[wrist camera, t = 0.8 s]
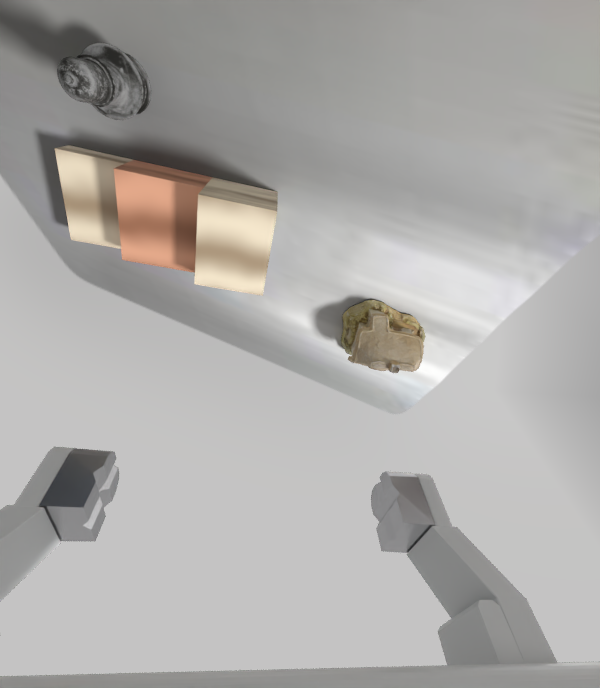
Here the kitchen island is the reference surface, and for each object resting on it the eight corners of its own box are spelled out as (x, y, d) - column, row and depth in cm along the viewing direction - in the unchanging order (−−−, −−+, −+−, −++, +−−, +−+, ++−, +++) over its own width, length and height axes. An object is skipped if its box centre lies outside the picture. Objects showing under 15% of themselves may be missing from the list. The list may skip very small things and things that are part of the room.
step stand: (68, 145, 38) (19, 156, 31) (277, 191, 42) (277, 211, 35) (82, 231, 44) (43, 258, 36) (265, 265, 48) (262, 295, 40)
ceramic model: (330, 351, 58) (338, 392, 50) (349, 294, 51) (362, 331, 43) (405, 362, 60) (425, 403, 52) (432, 309, 54) (460, 346, 45)
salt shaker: (108, 120, 37) (47, 128, 27) (84, 49, 33) (4, 29, 24) (161, 116, 37) (119, 122, 27) (143, 45, 33) (87, 22, 24)
